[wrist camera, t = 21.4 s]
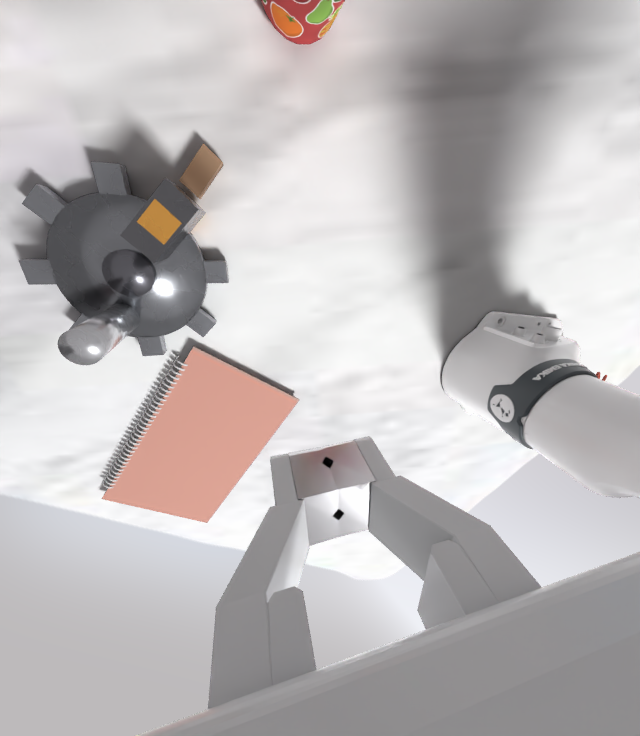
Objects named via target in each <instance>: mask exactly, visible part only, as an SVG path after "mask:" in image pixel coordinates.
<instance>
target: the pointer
mask: <svg viewBox="0 0 640 736" xmlns="http://www.w3.org/2000/svg"><path fill="white" fill-rule="evenodd" d="M222 167H223V162H222V161H221V160H220V159H219V158H218V157H217V156H216V155H215V154H214V153H213V152H212V151H211V150H210V149H209V148H208V147H207V146H206V145H205V144H204V143H203V144H202V146H201V148H200V149H199V151H198V152H197V154H196V155H195V157H194V158H193V160H192V161H191V163H190V164H189V166H188V167H187V169H186V170H185V172H184V173H183V175H182V176H181V178H180V180H179V181H180V182H181V183H182V184H183V185H185V186H186V187H187V188H188V189H189V190H190V191H191V192H193V193H194V194H195V195H196V196H197V197H198V198H200V199H201V197H202V196H203V195H204V193H205V192H206V190H207V189H208V187H209V186H210V184H211V183H212V181H213V180H214V178H215V177H216V175H217V174H218V173H219V171H220V170H221V168H222Z"/></svg>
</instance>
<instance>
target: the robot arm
mask: <svg viewBox="0 0 640 736" xmlns="http://www.w3.org/2000/svg"><path fill="white" fill-rule="evenodd" d="M580 356H581V352H580V346H579V344H578V343H577V342H576V341H574V340H572V339H569V338H566V337H564V336H563V324H562V321H561V320H559V319H557V318H551V317H542V316H533V315H523V314H514V313H505V312H495V311H492V312H489V313H488V314H487V315H486V316H485V317H484V318H483V319H482V321H481V322H480V323H479V325H478V326H477V327H476V328H475V329H474V330H473V331H472V332H471V333H469V334H468V335H467V336H465V337H464V338H463V339H462V340H461V341H460V342H459V343H458V344H457V345H456V346H455V348H454V349H453V350H452V352H451V353H450V355H449V356H448V358H447V360H446V363H445V365H444V368H443V373H442V385H443V389H444V391H445V393H446V395H447V396H448V397H449V398H451V399H452V400H454V401H456V402H458V403H459V404H460V405H461V407H462V409H463V410H464V411H465V412H466V413H468V414H470V415H472V414H476V415H477V416H479V417H480V418H482V419H483V420H485V421H486V422H488V423H490V424H491V425H493V426H494V427H496V428H498V429H499V430H501V431H505V432H506V433H508V434H509V435H510V436H511V437H512V438H513V439H514V440H516V441H517V442H519V443H521V444H523V445H524V446H525V447H527V448H530V449H535V450H536V451H537V452H539V453H540V454H541V455H543V456H544V457H545V458H547V459H548V460H549V461H551V462H552V463H553V464H555V465H556V466H557V467H558V468H560V469H561V470H562V471H564V472H565V473H567V474H568V475H569V476H571V477H572V478H573V479H575V480H576V481H577V482H579V483H580V484H581V485H583V486H584V487H585V488H586V489H588V490H590V491H592V492H594V493H597V494H599V495H603V496H607V497H619V498H621V497H633V496H635V497H638V498H640V395H638V394H636V393H633V392H630V391H628V390H625V389H623V388H620V387H618V386H615V385H613V384H610V383H608V382H605V380H606V378H607V375H605V376H604V377H603V379H602V380H600V372H597V374H596V375H595V374H594V373H593V372H591V371H590V370H588V369H587V367H585V366H584V365H581V364H580ZM270 462H271V471H272V480H273V488H274V497H275V506H273V507H270V508H269V510H268V512H267V513H266V515H265V517H264V519H263V521H262V523H261V525H260V526H259V528H258V530H257V532H256V534H255V536H254V538H253V539H252V541H251V543H250V545H249V547H248V549H247V551H246V553H245V555H244V556H243V558H242V560H241V562H240V564H239V566H238V567H237V569H236V571H235V573H234V575H233V577H232V579H231V581H230V583H229V584H228V586H227V588H226V590H225V592H224V593H223V595H222V597H221V599H220V601H219V603H218V605H217V606H216V615H215V627H214V640H213V652H212V665H211V678H210V691H209V703H208V709H207V710H205V711H202V712H199V713H196V714H194V715H191V716H188V717H185V718H183V719H180V720H177V721H175V722H172V723H169V724H167V725H163V726H161V727H158V728H155V729H153V730H150V731H147V732H144V733H141V734H139V735H136V736H640V552H638V553H635V554H632V555H629V556H627V557H624V558H621V559H619V560H616V561H613V562H610V563H608V564H605V565H602V566H599V567H597V568H594V569H591V570H588V571H586V572H583V573H580V574H577V575H575V576H572V577H569V578H566V579H564V580H561V581H558V582H556V583H553V584H550V585H547V586H544V587H541V586H540V585H539V583H538V582H536V580H535V579H534V578H533V576H532V575H531V574H530V573H529V572H528V570H527V569H526V568H525V567H524V566H523V564H522V563H521V562H520V561H519V560H518V558H517V557H516V556H515V555H514V554H513V552H512V551H511V550H510V549H509V548H508V546H507V545H506V544H505V543H504V542H503V540H502V539H501V538H500V537H499V536H498V534H497V533H496V532H495V531H494V530H493V529H492V527H491V526H490V525H488V524H486V523H484V522H483V521H481V520H479V519H477V518H475V517H474V516H472V515H470V514H468V513H467V512H465V511H463V510H461V509H459V508H458V507H456V506H454V505H452V504H450V503H449V502H447V501H445V500H443V499H442V498H440V497H438V496H436V495H434V494H433V493H431V492H429V491H427V490H426V489H424V488H422V487H420V486H418V485H417V484H415V483H413V482H411V481H409V480H408V479H406V478H404V477H402V476H397V477H396V476H395V475H394V473H393V471H392V470H391V468H390V467H389V465H388V463H387V462H386V460H385V459H384V457H383V455H382V454H381V452H380V451H379V449H378V448H377V446H376V444H375V443H374V441H373V440H372V438H371V437H369V436H368V437H363V438H359V439H354V440H351V441H346V442H341V443H337V444H332V445H328V446H323V447H319V448H313V449H308V450H302V451H297V452H291V453H288V454H283V455H277V456H272V457H271V459H270ZM364 530H369V532H370V533H372V534H373V535H374V536H375V537H376V538H377V539H378V540H379V541H380V542H381V543H383V544H384V545H385V546H386V547H387V548H388V549H389V550H390V551H391V552H392V553H394V554H395V555H396V556H397V557H398V558H399V559H400V560H401V561H402V562H404V563H405V564H406V565H407V566H408V567H409V568H410V569H411V570H412V571H413V572H415V573H416V574H417V575H418V576H419V577H420V578H421V579H422V580H423V581H424V584H423V588H422V593H421V597H420V602H419V606H418V612H419V615H420V617H421V619H422V622H423V624H424V626H425V628H426V630H424V631H421V632H418V633H416V634H413V635H410V636H407V637H405V638H402V639H399V640H397V641H394V642H391V643H388V644H385V645H383V646H380V647H377V648H374V649H372V650H369V651H366V652H364V653H361V654H358V655H356V656H352V657H350V658H347V659H344V660H341V661H339V662H336V663H333V664H331V665H328V666H325V667H322V668H320V669H317V670H316V665H315V659H314V654H313V647H312V641H311V636H310V630H309V624H308V619H307V613H306V607H305V601H304V596H303V591H302V590H300V589H298V585H299V582H300V578H301V575H302V572H303V568H304V565H305V561H306V558H307V555H308V551H309V546H310V545H314V544H317V543H320V542H323V541H327V540H330V539H333V538H336V537H340V536H344V535H348V534H352V533H356V532H360V531H364Z"/></svg>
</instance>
